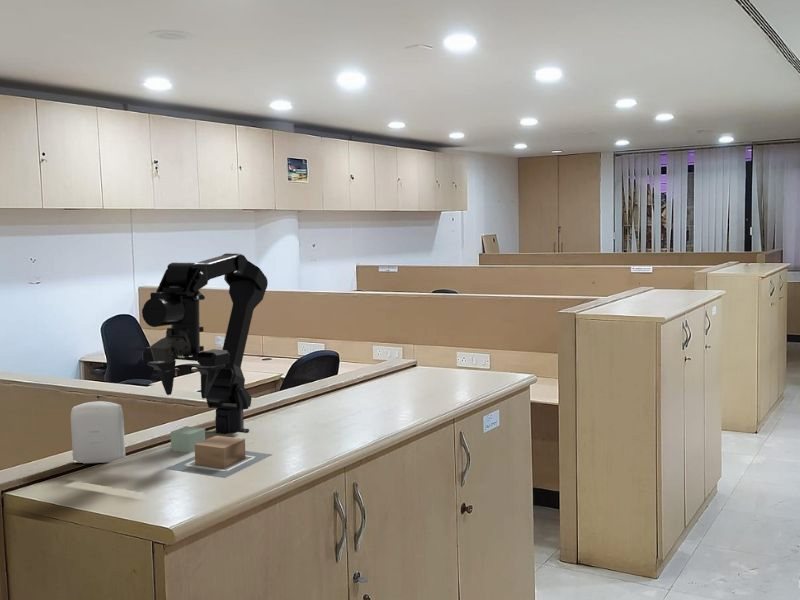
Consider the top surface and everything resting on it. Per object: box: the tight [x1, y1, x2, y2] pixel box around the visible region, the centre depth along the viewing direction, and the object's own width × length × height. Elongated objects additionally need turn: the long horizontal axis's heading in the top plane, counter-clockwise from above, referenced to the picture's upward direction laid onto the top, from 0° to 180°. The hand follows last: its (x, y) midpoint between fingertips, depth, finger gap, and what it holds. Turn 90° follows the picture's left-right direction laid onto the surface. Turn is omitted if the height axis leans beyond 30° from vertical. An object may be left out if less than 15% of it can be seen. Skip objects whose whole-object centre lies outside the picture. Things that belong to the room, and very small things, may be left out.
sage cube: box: [170, 425, 206, 454], centre depth 164 cm, size 5×5×5 cm
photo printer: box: [70, 400, 126, 464], centre depth 158 cm, size 10×4×12 cm, turn 96°
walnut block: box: [194, 435, 246, 468], centre depth 154 cm, size 7×7×4 cm
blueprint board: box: [165, 450, 273, 479], centre depth 155 cm, size 16×14×1 cm
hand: (186, 396), depth 163 cm, fingers open, 9 cm apart
